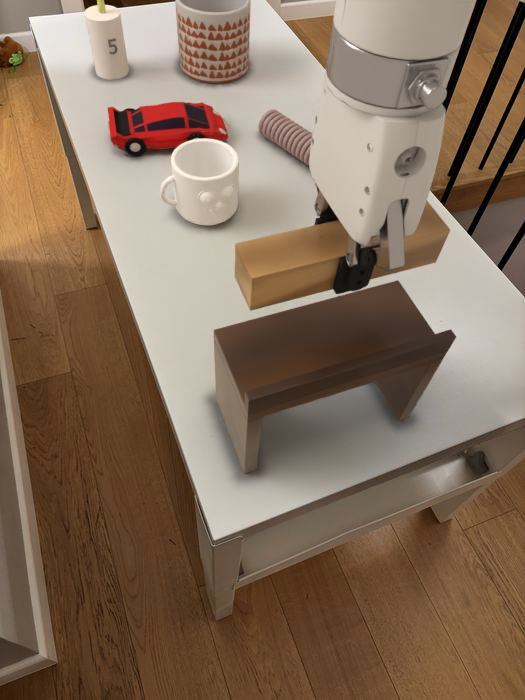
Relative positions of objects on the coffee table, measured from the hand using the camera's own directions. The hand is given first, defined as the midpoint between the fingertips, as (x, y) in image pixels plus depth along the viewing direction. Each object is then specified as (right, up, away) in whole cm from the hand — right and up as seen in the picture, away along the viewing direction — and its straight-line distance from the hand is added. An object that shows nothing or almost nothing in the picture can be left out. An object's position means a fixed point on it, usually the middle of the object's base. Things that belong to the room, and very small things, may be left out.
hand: (338, 267), depth 47 cm
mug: (-16, +14, +36) cm, 42 cm away
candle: (-36, +47, +57) cm, 82 cm away
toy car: (-23, +30, +46) cm, 60 cm away
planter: (-16, +50, +60) cm, 80 cm away
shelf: (-1, -14, +17) cm, 22 cm away
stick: (0, 0, 0) cm, 0 cm away
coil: (0, +26, +45) cm, 52 cm away
